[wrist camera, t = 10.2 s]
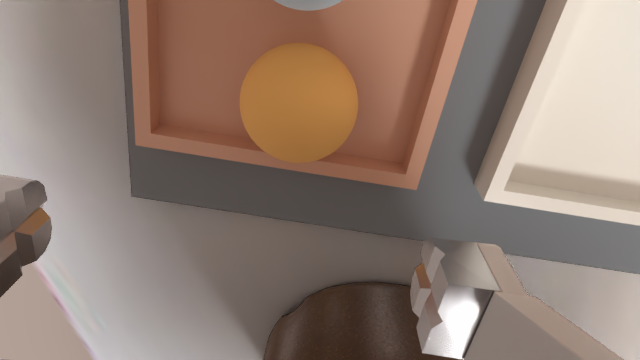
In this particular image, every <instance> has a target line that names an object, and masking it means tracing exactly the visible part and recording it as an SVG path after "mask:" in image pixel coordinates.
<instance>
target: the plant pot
mask: <svg viewBox="0 0 640 360" xmlns="http://www.w3.org/2000/svg"><path fill="white" fill-rule="evenodd" d="M410 291H411V287H409V286H403V285H397V284H388V283H372V282H365V283H353V284H346V285H340V286H335V287H330V288H327V289H324V290H322V291H320V292H317V293H315V294H312V295H310V296H308V297H307V298H306V299H305V300H304V301H303V302H302V303H301V305H300V306H299V307H298V308H297V309H296V310H294V311H293V312H291V313H290V314H288V315H287V316H286V315H285V316H282V317H281V319H280V320H279V321H278V322H277V323H276V325H275V327H274V329H273V330H272V332H271V334H270V336H269V339H268V342H267V346H266V351H265V355H264V359H263V360H463V359H457V358H450V357H444V356H438V355H431V354H425V353H422V350H421V346H420V341H419V337H418V333H417V328H416V327H417V324H418V321H419V317H418V316H417V315H416V314H415V313H414V312H413V310H412V305H411V297H410Z"/></svg>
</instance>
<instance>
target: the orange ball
mask: <svg viewBox="0 0 640 360" xmlns="http://www.w3.org/2000/svg"><path fill="white" fill-rule="evenodd" d="M357 112H358V95H357V89H356V85H355V83H354V80H353V78H352V76H351V74H350V72H349V70H348V69H347V67H346V66H345V65H344V64H343V62H342V61H341V60H339V59H338V58H337V57H336V56H335V55H334V54H332V53H331V52H329V51H328V50H326V49H324V48H322V47H319V46H316V45H313V44H308V43H289V44H284V45H281V46H278V47H275V48H273V49H271V50H269V51H268V52H266V53H265V54H263V55H262V56H261V57H260V58H259V59H257V60H256V61H255V63H254V64H253V65H252V66H251V68H250V69H249V71H248V73H247V74H246V76H245V79H244V81H243V84H242V87H241V92H240V113H241V117H242V121H243V124H244V126H245V129H246V131H247V132H248V134H249V136H250V137H251V139H252V140H253V141H254V142H255V144H256V145H257V146H259V147H260V148H261V149H262V150H263V151H264V152H266V153H267V154H269V155H271V156H272V157H274V158H277V159H280V160H282V161H286V162H291V163H307V162H313V161H316V160H319V159H322V158H324V157H326V156H328V155H330V154H331V153H333V152H334V151H336V150H337V149H338V148H339V147H340V146H341V145H342V144H343V143H344V142H345V140H346V139H347V138H348V136H349V134H350V133H351V131H352V129H353V127H354V124H355V121H356V118H357Z"/></svg>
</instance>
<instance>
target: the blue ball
mask: <svg viewBox="0 0 640 360" xmlns="http://www.w3.org/2000/svg"><path fill="white" fill-rule="evenodd" d="M274 1H276V2H277V3H279V4H281V5H283V6H286V7H288V8H292V9H296V10H304V11H314V10H320V9H325V8H328V7H331V6H333V5H335V4H337V3H339V2H341V1H342V0H274Z"/></svg>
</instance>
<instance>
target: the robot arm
mask: <svg viewBox="0 0 640 360" xmlns="http://www.w3.org/2000/svg"><path fill="white" fill-rule="evenodd" d="M46 201H47V196H46V192H45V187H44V185H43V184H41V183H40V182H39V181H37V180H31V179H25V178H19V177H12V176H6V175H0V297H1V296H2V295H3V294H4V293H5V292H6V291H7V290H8V289H9V288H10V287H11V286H12V285H13V284H14V283H15V282H16V281H17V280H18V279H19V278H20V277H21V276H22V266H25V265H27V264H29V263H32V262H34V261H37V259H38V258H39V257H40V256H41V255H42V254H43V253H44V252H45V250H46V248H47V246H48V244H49V241H50V239H51V231H52V225H51V219H50V217H49V216H48V215H47V213H46V212H45V211H44V210H43V209H42V208H41V207H42V206H43V205H44V203H45V202H46ZM420 253H421V256H422V260H423V263H422V264H420V265H419V266H418V267H416V268H415V271H414V274H413V278H412V282H411V291H410V297H411V305H412V310H413V312H414V313H415V314H416V315H417V316H418V317H419V321H418V324H417V327H416V328H417V333H418V337H419V341H420V346H421V350H422V353H425V354H431V355H438V356H444V357H450V358H457V359H463V360H624V359H622V358H621V357H619V356H618V355H617V354H615V353H614V352H612V351H611V350H610V349H608V348H607V347H605V346H604V345H603V344H601V343H600V342H598V341H597V340H596V339H594V338H593V337H591V336H590V335H589V334H587V333H586V332H584V331H583V330H582V329H580V328H579V327H577V326H576V325H575V324H573V323H572V322H570V321H569V320H568V319H566V318H565V317H563V316H562V315H561V314H559V313H558V312H556V311H555V310H553V309H552V308H551V307H549V306H548V305H546V304H545V303H544V302H542V301H541V300H539V299H538V298H537V297H533V296H528V294H527V293H526V291H525V289H524V287H523V286H522V284H521V282H520V281H519V279H518V277H517V275H516V274H515V272H514V270H513V269H512V267H511V265H510V263H509V262H508V260H507V258H506V257H505V255H504V253H503V251H502V250H501V248H500V247H499V246H497V245H495V244H486V243H477V242H466V241H457V240H449V239H441V238H432V237H427V238H426V240H425V241H424V243H423V246H422V249H421V252H420ZM0 360H9V359H0Z"/></svg>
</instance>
